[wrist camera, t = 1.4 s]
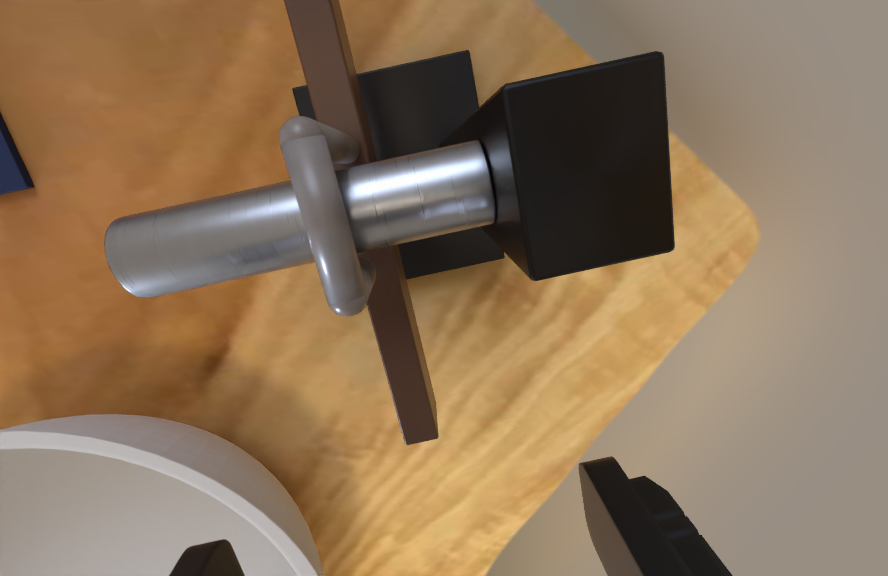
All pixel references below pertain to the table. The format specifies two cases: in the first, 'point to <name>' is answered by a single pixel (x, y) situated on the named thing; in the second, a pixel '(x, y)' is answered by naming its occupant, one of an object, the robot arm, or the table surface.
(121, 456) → the bowl
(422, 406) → the hanger
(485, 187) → the coat stand
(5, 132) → the mat
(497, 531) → the table surface
